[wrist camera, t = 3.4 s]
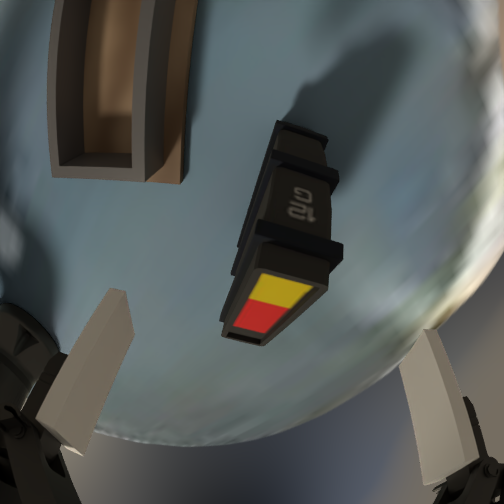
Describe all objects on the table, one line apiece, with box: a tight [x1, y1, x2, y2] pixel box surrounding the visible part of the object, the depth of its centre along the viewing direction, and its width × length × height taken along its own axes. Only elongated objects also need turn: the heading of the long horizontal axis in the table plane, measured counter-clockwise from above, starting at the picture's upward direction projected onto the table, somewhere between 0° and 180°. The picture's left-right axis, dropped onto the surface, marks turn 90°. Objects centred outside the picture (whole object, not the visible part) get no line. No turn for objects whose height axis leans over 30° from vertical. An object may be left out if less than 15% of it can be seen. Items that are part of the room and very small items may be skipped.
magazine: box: [219, 120, 343, 346], centre depth 20 cm, size 4×13×15 cm, turn 164°
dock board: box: [83, 0, 198, 184], centre depth 19 cm, size 12×21×1 cm, turn 174°
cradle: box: [47, 0, 176, 182], centre depth 17 cm, size 9×18×4 cm, turn 174°
